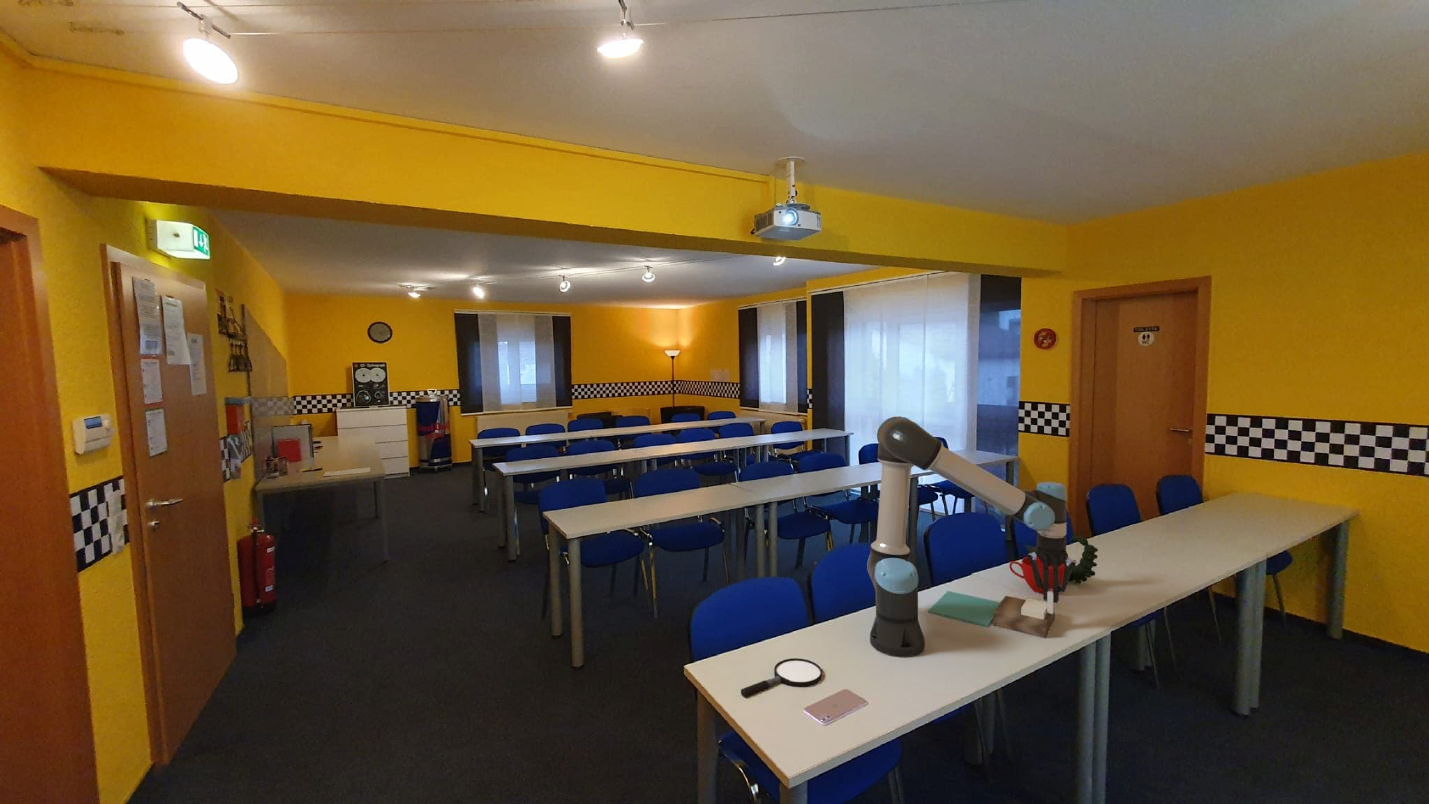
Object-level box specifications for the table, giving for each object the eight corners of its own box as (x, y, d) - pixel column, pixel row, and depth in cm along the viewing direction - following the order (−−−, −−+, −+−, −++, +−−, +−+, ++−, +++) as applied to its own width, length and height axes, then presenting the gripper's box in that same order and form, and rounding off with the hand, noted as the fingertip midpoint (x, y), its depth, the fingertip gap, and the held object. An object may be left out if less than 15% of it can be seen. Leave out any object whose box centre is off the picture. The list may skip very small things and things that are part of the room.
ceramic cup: (1012, 579, 211) (1012, 552, 210) (1065, 588, 201) (1065, 560, 200) (1006, 590, 200) (1006, 563, 200) (1062, 601, 190) (1062, 571, 190)
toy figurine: (1098, 589, 203) (1030, 563, 224) (1104, 538, 200) (1034, 517, 222) (1083, 595, 198) (1015, 568, 220) (1089, 543, 195) (1019, 521, 217)
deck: (993, 625, 174) (993, 612, 174) (1005, 607, 187) (1005, 595, 186) (1045, 638, 166) (1045, 624, 165) (1054, 618, 178) (1054, 605, 178)
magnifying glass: (729, 686, 147) (728, 678, 146) (800, 660, 159) (800, 652, 159) (758, 710, 136) (757, 701, 136) (832, 680, 149) (832, 671, 149)
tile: (1021, 614, 172) (1021, 608, 172) (1027, 604, 179) (1027, 598, 179) (1043, 619, 169) (1043, 612, 168) (1049, 609, 176) (1049, 602, 175)
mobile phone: (869, 701, 137) (823, 724, 128) (869, 705, 137) (823, 728, 128) (845, 686, 143) (800, 707, 135) (845, 690, 143) (801, 711, 135)
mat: (928, 612, 185) (928, 610, 185) (947, 592, 200) (947, 590, 200) (987, 627, 173) (987, 625, 173) (1003, 604, 189) (1003, 603, 189)
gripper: (1024, 534, 171) (1023, 610, 172) (1075, 541, 163) (1074, 622, 164) (1029, 528, 177) (1029, 602, 178) (1079, 535, 169) (1078, 613, 170)
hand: (1050, 611), depth 171 cm, fingers closed
